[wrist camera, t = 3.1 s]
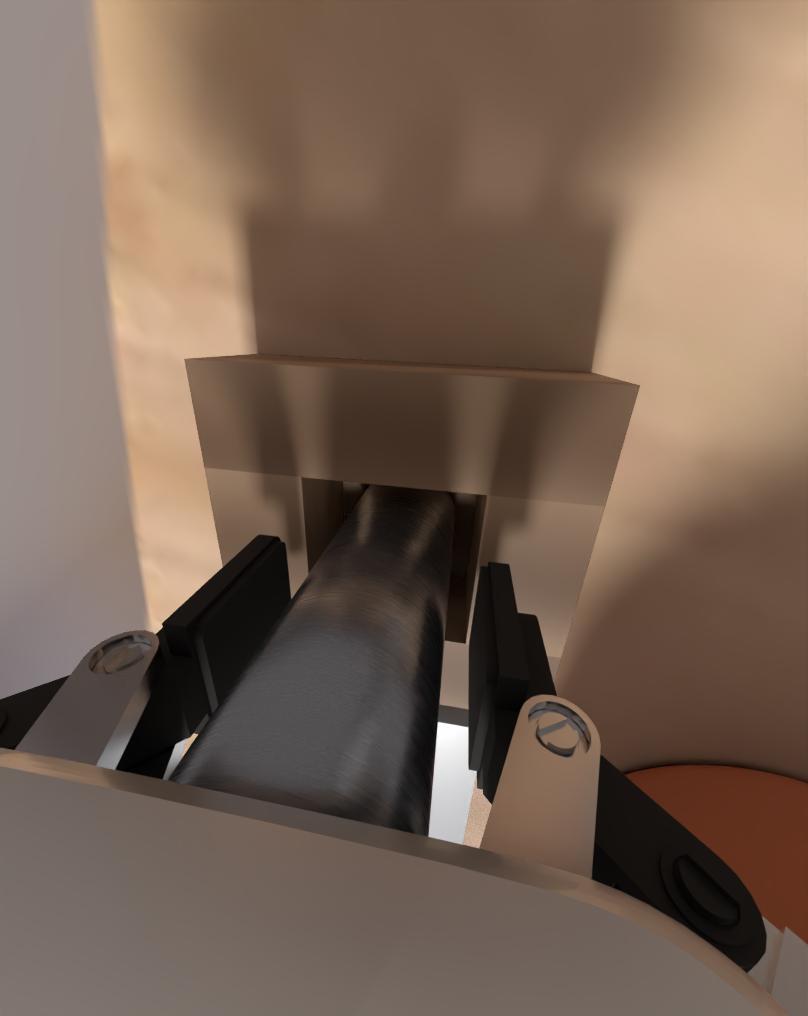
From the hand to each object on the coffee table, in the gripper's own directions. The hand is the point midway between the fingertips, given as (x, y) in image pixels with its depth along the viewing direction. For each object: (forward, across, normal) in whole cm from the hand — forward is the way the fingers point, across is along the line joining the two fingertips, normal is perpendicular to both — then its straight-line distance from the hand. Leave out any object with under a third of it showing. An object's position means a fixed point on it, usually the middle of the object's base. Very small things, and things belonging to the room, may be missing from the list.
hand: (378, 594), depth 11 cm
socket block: (+6, 0, 0) cm, 6 cm away
